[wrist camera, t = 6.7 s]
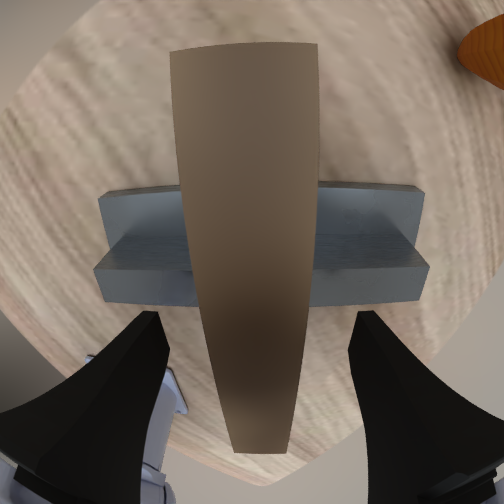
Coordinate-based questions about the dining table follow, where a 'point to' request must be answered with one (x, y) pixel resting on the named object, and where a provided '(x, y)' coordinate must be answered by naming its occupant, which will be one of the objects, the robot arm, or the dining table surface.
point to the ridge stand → (325, 250)
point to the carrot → (485, 51)
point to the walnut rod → (250, 221)
